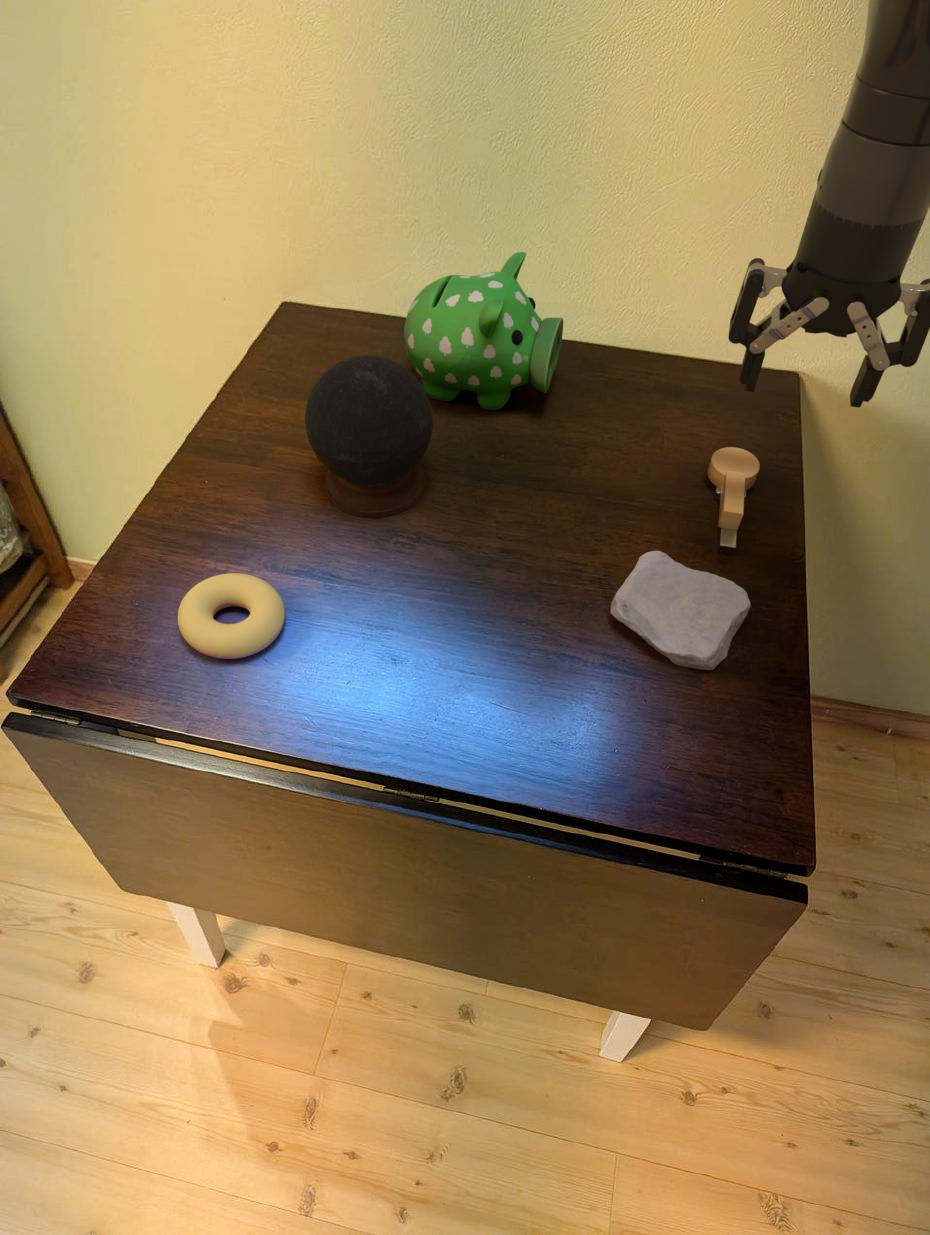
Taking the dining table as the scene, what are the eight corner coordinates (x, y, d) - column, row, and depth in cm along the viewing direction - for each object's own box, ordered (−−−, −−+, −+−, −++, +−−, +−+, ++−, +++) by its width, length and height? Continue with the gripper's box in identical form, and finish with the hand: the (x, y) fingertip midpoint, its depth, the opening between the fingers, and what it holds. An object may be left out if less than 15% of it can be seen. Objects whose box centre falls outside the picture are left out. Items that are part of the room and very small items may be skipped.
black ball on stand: (430, 526, 90) (426, 411, 78) (307, 522, 90) (285, 406, 78) (438, 446, 98) (435, 331, 86) (325, 442, 98) (307, 327, 87)
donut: (253, 687, 79) (305, 610, 83) (246, 667, 75) (301, 587, 79) (162, 641, 80) (218, 567, 85) (151, 619, 76) (210, 543, 80)
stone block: (709, 692, 79) (752, 610, 82) (715, 669, 75) (760, 584, 78) (595, 639, 83) (641, 564, 87) (595, 615, 79) (643, 537, 83)
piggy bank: (538, 435, 99) (549, 321, 88) (392, 409, 102) (384, 295, 91) (561, 367, 108) (574, 254, 96) (425, 344, 111) (422, 232, 99)
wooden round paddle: (753, 533, 88) (759, 516, 86) (702, 524, 89) (708, 508, 87) (755, 464, 95) (761, 448, 93) (708, 457, 95) (713, 440, 94)
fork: (740, 557, 87) (743, 549, 86) (709, 551, 88) (712, 543, 87) (744, 467, 96) (747, 459, 95) (716, 462, 97) (718, 454, 96)
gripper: (765, 208, 57) (712, 408, 70) (990, 232, 55) (893, 434, 67) (768, 163, 62) (718, 357, 74) (975, 183, 59) (888, 381, 72)
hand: (801, 394), depth 71 cm, fingers open, 8 cm apart
